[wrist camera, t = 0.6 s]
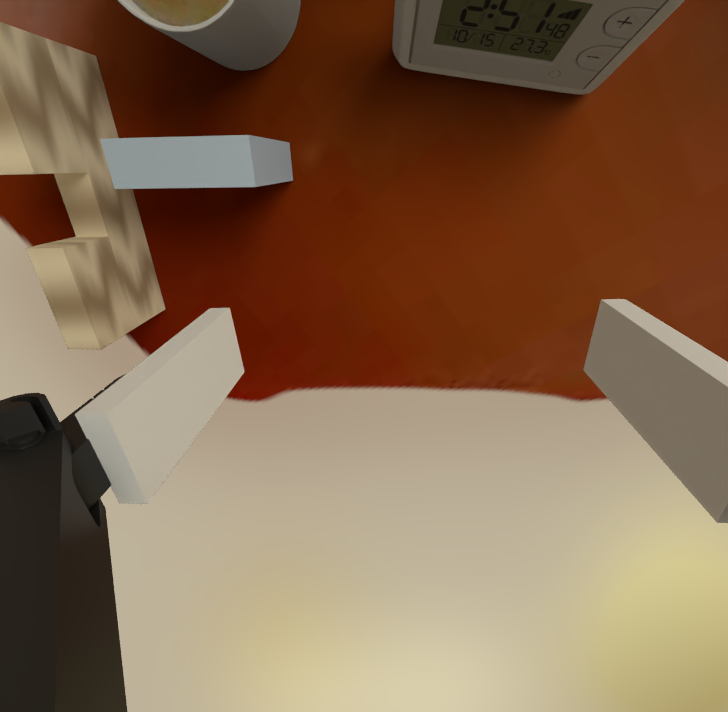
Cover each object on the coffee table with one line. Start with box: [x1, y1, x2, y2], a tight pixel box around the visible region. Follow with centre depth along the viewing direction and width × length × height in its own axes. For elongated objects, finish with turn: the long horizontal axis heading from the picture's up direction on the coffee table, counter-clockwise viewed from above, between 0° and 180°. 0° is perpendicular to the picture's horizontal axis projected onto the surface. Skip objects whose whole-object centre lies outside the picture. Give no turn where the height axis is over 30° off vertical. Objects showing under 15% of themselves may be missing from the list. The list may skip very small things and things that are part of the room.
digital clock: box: [392, 0, 685, 95], centre depth 23 cm, size 16×9×11 cm, turn 71°
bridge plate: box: [100, 135, 293, 189], centre depth 29 cm, size 3×10×10 cm, turn 91°
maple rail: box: [0, 22, 165, 350], centre depth 31 cm, size 22×3×10 cm, turn 1°
